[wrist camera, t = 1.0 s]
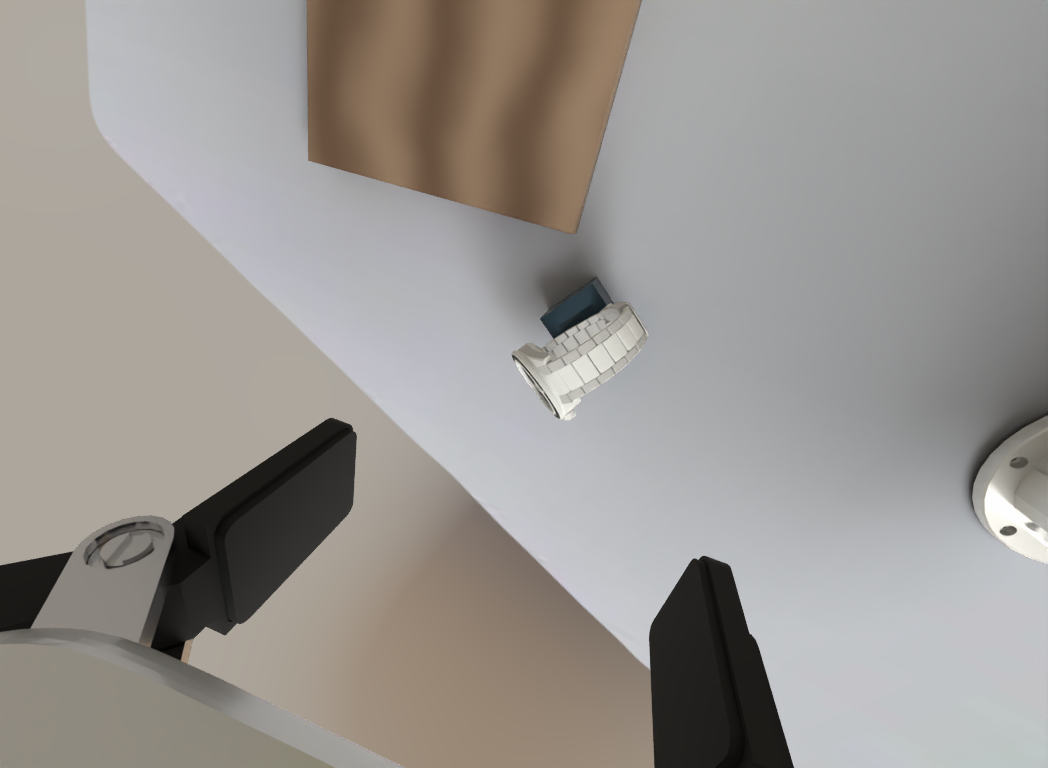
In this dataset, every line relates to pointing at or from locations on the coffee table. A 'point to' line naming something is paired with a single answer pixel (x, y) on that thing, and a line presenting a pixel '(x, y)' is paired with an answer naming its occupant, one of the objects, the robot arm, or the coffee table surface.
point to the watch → (580, 348)
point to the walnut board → (469, 97)
